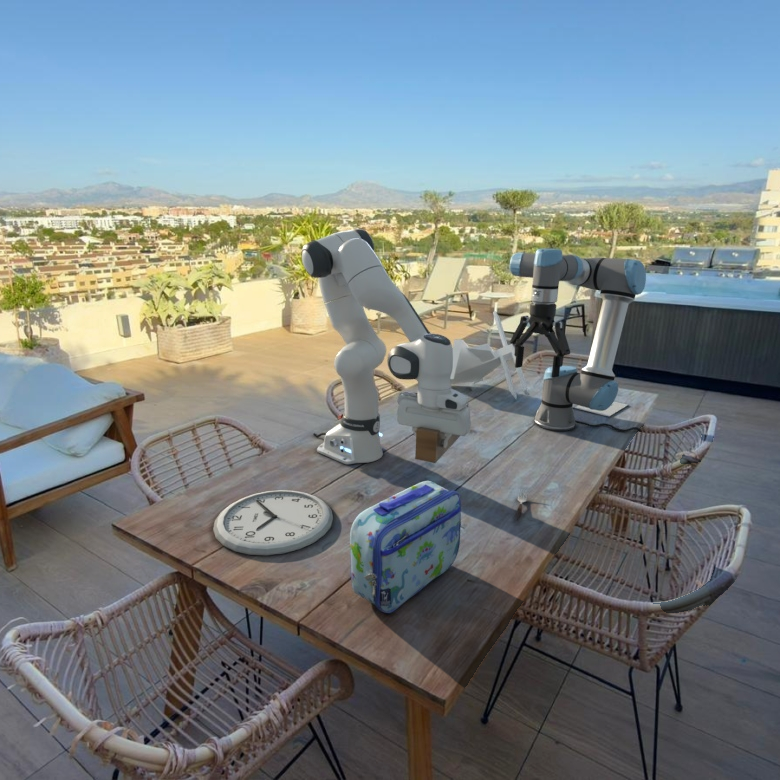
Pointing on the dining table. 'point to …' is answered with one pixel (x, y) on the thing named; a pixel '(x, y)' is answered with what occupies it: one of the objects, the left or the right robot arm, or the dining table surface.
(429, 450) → the bar
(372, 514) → the lunch box
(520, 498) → the fork
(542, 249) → the right robot arm
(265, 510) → the wall clock
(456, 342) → the white plastic object
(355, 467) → the dining table surface
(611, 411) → the invitation card
